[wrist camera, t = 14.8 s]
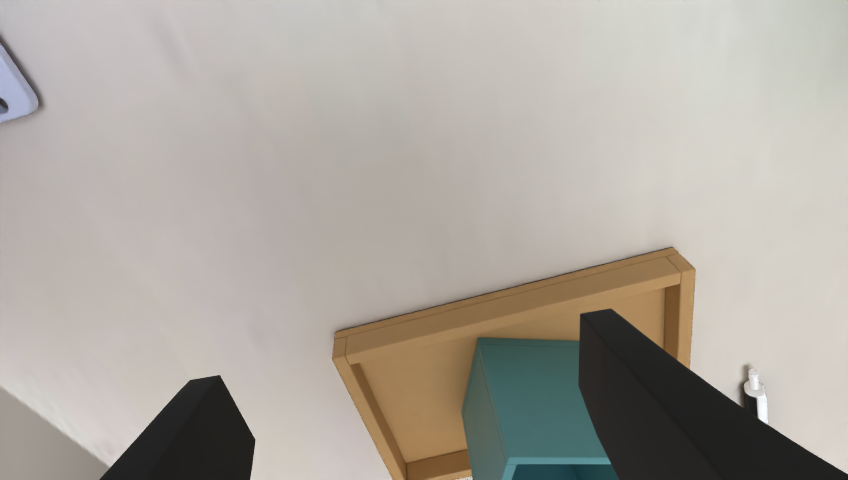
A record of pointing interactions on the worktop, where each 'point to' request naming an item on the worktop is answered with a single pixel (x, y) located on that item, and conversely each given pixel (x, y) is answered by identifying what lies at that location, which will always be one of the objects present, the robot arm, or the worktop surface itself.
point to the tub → (530, 414)
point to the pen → (755, 397)
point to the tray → (493, 318)
